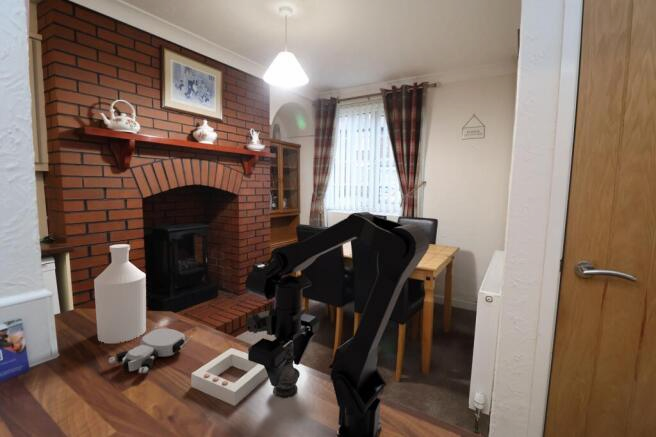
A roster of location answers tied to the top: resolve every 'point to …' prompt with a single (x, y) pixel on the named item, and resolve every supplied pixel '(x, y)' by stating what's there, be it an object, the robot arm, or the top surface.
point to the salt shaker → (287, 376)
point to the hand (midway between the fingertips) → (285, 374)
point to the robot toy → (151, 349)
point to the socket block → (225, 389)
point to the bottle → (120, 299)
